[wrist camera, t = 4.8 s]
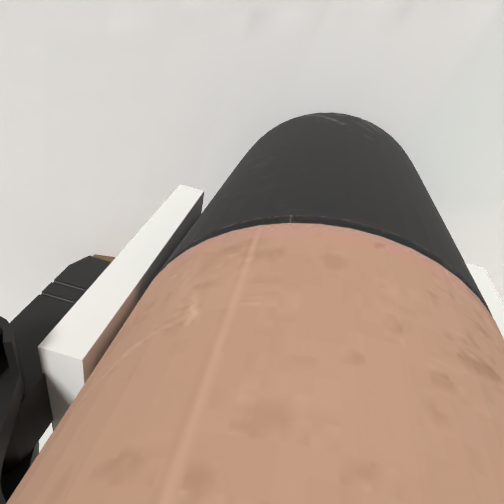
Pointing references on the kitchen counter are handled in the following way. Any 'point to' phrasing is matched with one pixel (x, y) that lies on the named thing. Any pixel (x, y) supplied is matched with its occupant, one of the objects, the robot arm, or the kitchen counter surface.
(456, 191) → the kitchen counter surface
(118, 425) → the travel mug
